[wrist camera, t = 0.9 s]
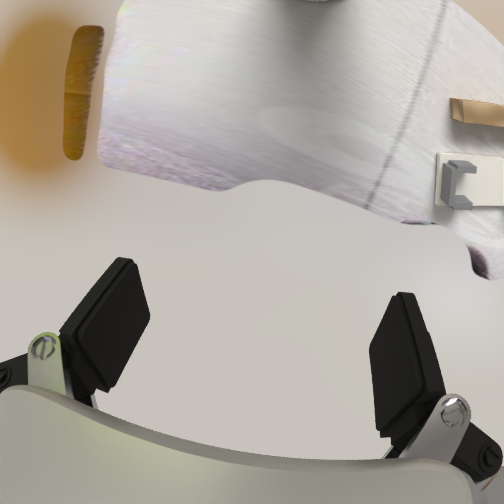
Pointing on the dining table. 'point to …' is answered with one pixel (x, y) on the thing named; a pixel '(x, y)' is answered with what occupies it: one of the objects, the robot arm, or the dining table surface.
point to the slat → (477, 112)
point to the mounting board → (469, 181)
